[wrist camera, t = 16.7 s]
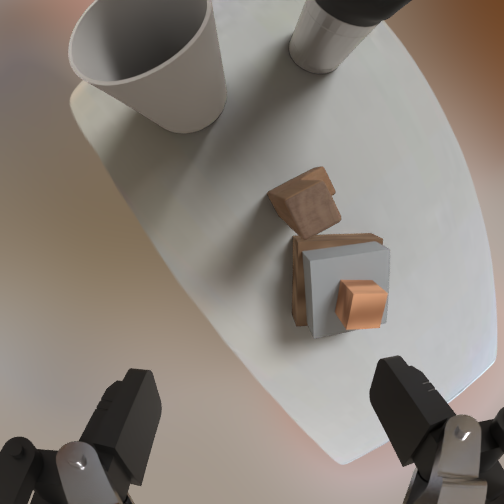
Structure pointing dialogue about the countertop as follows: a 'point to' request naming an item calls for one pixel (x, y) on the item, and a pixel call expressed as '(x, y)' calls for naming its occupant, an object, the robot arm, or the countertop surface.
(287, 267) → the countertop surface
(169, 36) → the cylinder vase
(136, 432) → the robot arm
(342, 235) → the tower base block
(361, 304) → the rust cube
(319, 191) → the wooden block
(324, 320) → the tower top block
